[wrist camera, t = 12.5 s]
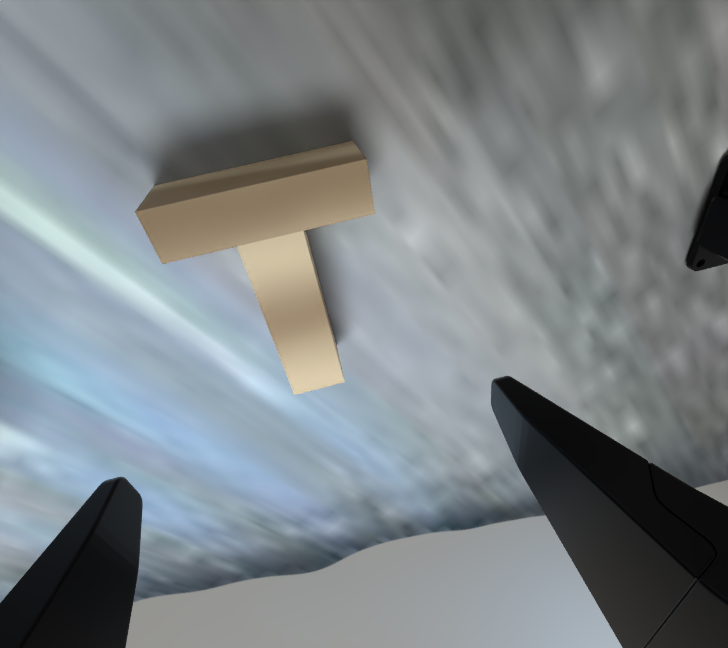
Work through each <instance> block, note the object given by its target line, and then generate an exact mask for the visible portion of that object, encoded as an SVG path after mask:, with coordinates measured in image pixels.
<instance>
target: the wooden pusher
mask: <svg viewBox="0 0 728 648" xmlns="http://www.w3.org/2000/svg"><path fill="white" fill-rule="evenodd" d="M135 213H136V215H137V217H138V218H139V220H140V222H141V224H142V226H143V228H144V230H145V232H146V234H147V236H148V238H149V240H150V241H151V243H152V245H153V247H154V249H155V251H156V253H157V255H158V257H159V259H160V261H161V262H162V264H165V263H169V262H173V261H177V260H182V259H186V258H190V257H194V256H199V255H203V254H207V253H211V252H215V251H220V250H224V249H228V248H232V247H237V248H238V251H239V253H240V256H241V258H242V261H243V264H244V266H245V269H246V271H247V274H248V276H249V279H250V282H251V284H252V287H253V289H254V292H255V295H256V297H257V300H258V302H259V305H260V307H261V310H262V313H263V315H264V318H265V320H266V323H267V325H268V328H269V331H270V333H271V336H272V338H273V341H274V344H275V346H276V349H277V351H278V354H279V356H280V359H281V362H282V364H283V367H284V369H285V372H286V375H287V377H288V380H289V382H290V385H291V387H292V390H293V393H294V395H296V394H300V393H304V392H308V391H312V390H316V389H319V388H323V387H327V386H331V385H335V384H339V383H343V382H345V381H344V377H343V372H342V368H341V363H340V359H339V354H338V349H337V345H336V341H335V338H334V334H333V330H332V326H331V323H330V319H329V315H328V312H327V308H326V304H325V300H324V297H323V293H322V289H321V286H320V282H319V278H318V274H317V271H316V267H315V263H314V260H313V256H312V252H311V248H310V245H309V241H308V237H307V234H306V230H309V229H313V228H317V227H321V226H325V225H330V224H334V223H338V222H342V221H347V220H351V219H355V218H359V217H364V216H368V215H372V214H375V210H374V203H373V197H372V191H371V184H370V178H369V171H368V165H367V159H366V158H365V156H364V155H363V154H362V152H361V151H360V150H359V149H358V147H357V146H356V145H355V143H354V142H353V141H349V142H345V143H340V144H336V145H331V146H327V147H323V148H318V149H314V150H309V151H305V152H301V153H296V154H292V155H287V156H283V157H278V158H274V159H270V160H265V161H261V162H256V163H252V164H247V165H243V166H239V167H234V168H230V169H225V170H221V171H217V172H212V173H208V174H203V175H199V176H194V177H190V178H186V179H181V180H177V181H172V182H168V183H163V184H159V185H155V186H154V187H153V188H152V189H151V191H150V192H149V193H148V195H147V196H146V198H145V199H144V200H143V202H142V203H141V204H140V206H139V207H138V209H137V210H136V211H135Z"/></svg>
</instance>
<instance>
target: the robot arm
mask: <svg viewBox="0 0 728 648" xmlns="http://www.w3.org/2000/svg"><path fill="white" fill-rule="evenodd" d="M727 263H728V155H727V156H726V157H725V158H724V160H723V161H722V163H721V166H720V169H719V171H718V174H717V177H716V180H715V183H714V186H713V189H712V191H711V194H710V197H709V200H708V203H707V206H706V209H705V212H704V214H703V217H702V220H701V223H700V226H699V229H698V232H697V234H696V237H695V240H694V243H693V246H692V249H691V252H690V254H689V257H688V260H687V264H686V265H687V267H688V268H690V269H692V270H694V271H700V270H704V269H707V268H711V267H715V266H719V265H723V264H727ZM491 406H492V409H493V412H494V414H495V416H496V419H497V421H498V423H499V426H500V428H501V430H502V432H503V435H504V437H505V439H506V441H507V444H508V446H509V448H510V451H511V453H512V455H513V457H514V459H515V462H516V464H517V466H518V468H519V470H520V471H521V473H522V475H523V477H524V479H525V480H526V482H527V484H528V485H529V487H530V489H531V491H532V492H533V494H534V496H535V497H536V499H537V501H538V503H539V504H540V506H541V508H542V510H543V511H544V513H545V515H546V516H547V518H548V520H549V521H550V523H551V525H552V527H553V528H554V530H555V532H556V534H557V535H558V537H559V539H560V541H561V542H562V544H563V546H564V547H565V549H566V551H567V552H568V554H569V556H570V557H571V559H572V561H573V563H574V565H575V566H576V568H577V570H578V571H579V573H580V575H581V576H582V578H583V580H584V582H585V584H586V585H587V587H588V589H589V590H590V592H591V594H592V595H593V597H594V599H595V601H596V602H597V604H598V606H599V608H600V609H601V611H602V613H603V614H604V616H605V618H606V620H607V621H608V623H609V625H610V627H611V628H612V630H613V632H614V633H615V635H616V637H617V639H618V640H619V642H620V644H621V646H622V647H623V648H728V506H725V505H724V504H722V503H720V502H718V501H717V500H715V499H713V498H711V497H709V496H707V495H705V494H703V493H702V492H700V491H698V490H696V489H694V488H693V487H691V486H689V485H688V484H686V483H684V482H683V481H681V480H679V479H677V478H676V477H674V476H672V475H671V474H669V473H667V472H666V471H664V470H662V469H661V468H659V467H658V466H656V465H654V464H653V463H648V461H647V460H646V459H644V458H643V457H641V456H639V455H638V454H636V453H634V452H633V451H631V450H630V449H628V448H626V447H625V446H623V445H621V444H620V443H618V442H616V441H615V440H613V439H612V438H610V437H608V436H607V435H605V434H603V433H602V432H600V431H599V430H597V429H595V428H594V427H592V426H590V425H589V424H587V423H585V422H584V421H582V420H581V419H579V418H577V417H576V416H574V415H572V414H571V413H569V412H568V411H566V410H564V409H563V408H561V407H559V406H558V405H556V404H555V403H553V402H551V401H550V400H548V399H546V398H545V397H543V396H541V395H540V394H538V393H537V392H535V391H533V390H532V389H530V388H528V387H527V386H525V385H524V384H522V383H520V382H519V381H517V380H515V379H514V378H512V377H510V376H504V377H500V378H496V379H494V380H493V381H492V385H491ZM141 522H142V498H141V496H140V494H139V493H138V491H137V490H136V489H135V488H134V487H133V486H132V485H131V484H130V483H129V482H128V480H127V479H126V478H124V477H117V478H113V479H109V480H106V481H104V482H103V483H101V484H100V486H99V487H98V488H97V489H96V490H95V491H94V493H93V494H92V495H91V496H90V497H89V499H88V500H87V501H86V502H85V503H84V505H83V506H82V507H81V508H80V509H79V510H78V512H77V513H76V514H75V515H74V516H73V518H72V519H71V520H70V521H69V522H68V524H67V525H66V526H65V527H64V528H63V529H62V531H61V532H60V533H59V534H58V535H57V537H56V538H55V539H54V540H53V541H52V543H51V544H50V545H49V546H48V547H47V548H46V550H45V551H44V552H43V553H42V554H41V556H40V557H39V558H38V559H37V560H36V562H35V563H34V564H33V565H32V566H31V567H30V569H29V570H28V571H27V572H26V573H25V575H24V576H23V577H22V578H21V579H20V580H19V582H18V583H17V584H16V585H15V586H14V588H13V589H12V590H11V591H10V592H9V594H8V595H7V596H6V597H5V598H4V599H3V601H2V602H1V603H0V648H125V647H126V641H127V635H128V629H129V623H130V617H131V611H132V606H133V600H134V594H135V588H136V582H137V575H138V567H139V555H140V539H141Z"/></svg>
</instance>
